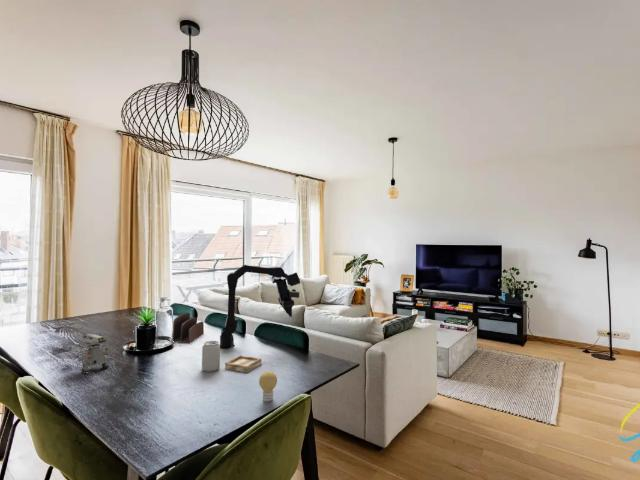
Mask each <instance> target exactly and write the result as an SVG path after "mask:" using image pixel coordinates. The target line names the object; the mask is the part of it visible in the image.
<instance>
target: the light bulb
mask: <svg viewBox="0 0 640 480" xmlns="http://www.w3.org/2000/svg"><path fill="white" fill-rule="evenodd" d="M258 382H259V383H258V384H259V386H260V388H261V390H262V401H264V402H266V403H268V402H271V401H273V400H274V389H275V387H276V386H277V384H278V376H277V375H276V373H275V372H272V371H264V372H263V373H262V374H261V375H260V376H259V379H258Z"/></svg>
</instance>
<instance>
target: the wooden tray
mask: <svg viewBox="0 0 640 480" xmlns="http://www.w3.org/2000/svg"><path fill="white" fill-rule="evenodd" d="M224 365H225V366H224V369H225V370H231V371H237V372H242V373H249V372H250V371H252V370H254V369H256V368H257V367H259V366H260V365H262V358H261V357H255V356H254V357H253V356H248V355H237V356H236V357H234V358H232V359H230V360H229V361H226V362H225V363H224Z"/></svg>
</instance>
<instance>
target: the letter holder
mask: <svg viewBox="0 0 640 480" xmlns="http://www.w3.org/2000/svg"><path fill="white" fill-rule="evenodd" d="M190 313H191V312H184V313H182V314H180V315H178V316H177V317H175V318H174V319H173V321H172V322H173V323H172V340H173V341H174V342H178V343H177V344H190V342H191V343H192V342H194V341H195V340H196V339H198V338H200V337H202V336H203V335H204V333H205V332H204V331H205V330H204V328H205V327H204V321H199V322H197V321H198V320H197V319H198V318H197V317H191V314H190ZM193 340H194V341H193Z"/></svg>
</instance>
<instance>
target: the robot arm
mask: <svg viewBox="0 0 640 480" xmlns="http://www.w3.org/2000/svg"><path fill="white" fill-rule="evenodd" d="M247 273H250V274H251V273H253V274H260V275H268V276H271V277H274V278H273V280H272V284H275V285H276V288H277V293H278V298H277V300H278V303H279V305H280V306H281V308H282V309H283V310H284V312H285V313H286V314H287V315H288V317H289V318H292V317H293V306H294V305H295V300H294V299H293V298H296V299H299V298H300V291H298V290H296V288H292V289H291V290H290V289H289V287H288V286H290V287H294V286H297V285H300V284H301V280H300V277H299V275H298V272H293V273H289V274H287V273H285V270H284V268H282V267H280V266H271V267H265V266H264V267H263V266H258V265H257V266H256V265H249V264H242V266H241V267H240V268H238V269H236V270H235V271H233V272H230V273H228V274H227V275H226V281H227V288H228V294H227V295H228V297H227V298H228V301H227V316H226V320H225V325H224V327H222V328H221V330H220V331H221V332H220V336H219V345H220V349H230V348H233V347H235V344H234V343H235V341H234V340H235V339H234V333H235V332H236V331H237V328H238V320H239V319H238V317H235V311H236V290H237V286H238V281H239V279H240V278H241V277H243V275H245V274H247Z"/></svg>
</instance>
